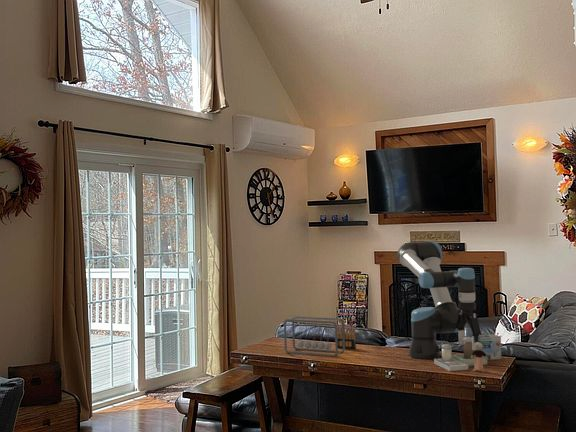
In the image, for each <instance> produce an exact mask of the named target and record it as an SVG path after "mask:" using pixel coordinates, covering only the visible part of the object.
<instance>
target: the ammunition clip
mask: <svg viewBox="0 0 576 432" xmlns="http://www.w3.org/2000/svg"><path fill="white" fill-rule="evenodd" d="M339 326H340V327H339ZM344 330H345V350H356V349H357V345H356V333H355V328H354V326H352V327H351V326H349V327H348V325H346V327H345V326H344ZM337 341H338V349H343V337H342V325H337Z"/></svg>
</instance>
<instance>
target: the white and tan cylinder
mask: <svg viewBox="0 0 576 432" xmlns="http://www.w3.org/2000/svg"><path fill="white" fill-rule="evenodd" d="M462 345H463V354H464V359H474V357H473V358H471V355H472V353H473V351H475V350H472V336H464V338H463V344H462Z"/></svg>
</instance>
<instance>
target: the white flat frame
mask: <svg viewBox="0 0 576 432" xmlns="http://www.w3.org/2000/svg"><path fill="white" fill-rule="evenodd" d="M433 360H434V361H433V363H434V364H435V365H437V366H439V367H441V368H443V369H444V370H446V371H448V372H453V371H455V372H456V371H467V370H468V371H469V366H468V365H467V364H465V363H463V362H460V361H458V360H456V359H454V358H452V361H450V362H443V361H442V358H433Z"/></svg>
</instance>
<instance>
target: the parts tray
mask: <svg viewBox="0 0 576 432" xmlns="http://www.w3.org/2000/svg"><path fill="white" fill-rule="evenodd" d="M482 357H483V356H482ZM452 358H454V359H456V360H458V361H460V362H463V363H465V364H467V365H468V367H473V366H475V355H474V359H464V353H456V354H455V353H454V354H452ZM487 365H488V360H486V359H485V357H483V366H487Z"/></svg>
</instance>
